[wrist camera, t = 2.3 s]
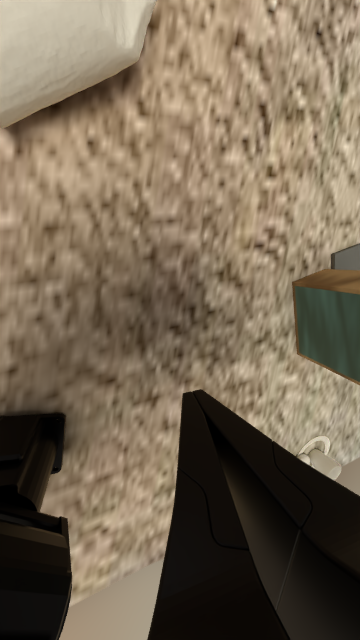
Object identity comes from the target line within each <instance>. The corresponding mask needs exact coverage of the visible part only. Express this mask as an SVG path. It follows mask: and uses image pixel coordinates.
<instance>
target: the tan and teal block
mask: <svg viewBox="0 0 360 640" xmlns="http://www.w3.org/2000/svg"><path fill="white" fill-rule="evenodd" d="M292 285H293V300H294V314H295V329H296V343H297V354H298V355H300V356H302V357H304V358H306V359H308V360H310V361H312V362H314V363H316V364H318V365H320V366H322V367H324V368H326V369H328V370H330V371H332V372H334V373H336V374H338V375H340V376H342V377H344V378H346V379H348V380H350V381H352V382H354V383H356V384H358V385H360V270H335V269H324V270H322V271H319V272H317V273H314V274H312V275H309V276H307V277H304V278H302V279H299V280H297V281H294V282H292Z"/></svg>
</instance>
